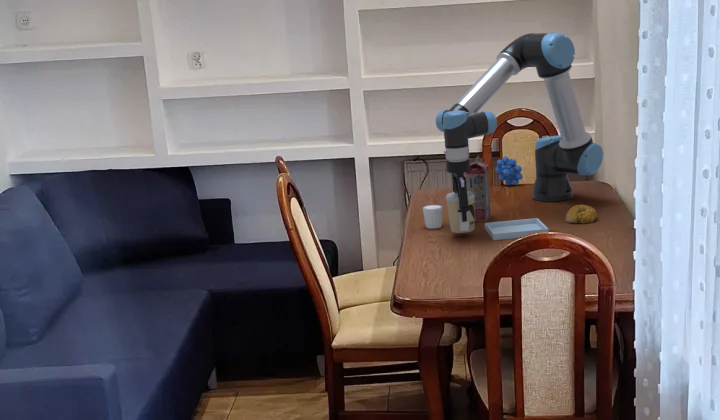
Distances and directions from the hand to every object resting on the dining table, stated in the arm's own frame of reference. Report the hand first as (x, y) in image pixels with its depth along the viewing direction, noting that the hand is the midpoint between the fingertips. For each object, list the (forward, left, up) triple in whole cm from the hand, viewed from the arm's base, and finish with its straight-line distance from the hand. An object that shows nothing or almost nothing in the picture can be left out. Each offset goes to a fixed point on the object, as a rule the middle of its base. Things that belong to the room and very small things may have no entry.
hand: (462, 226), depth 278 cm
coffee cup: (0, 0, -1) cm, 1 cm away
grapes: (-31, -67, -3) cm, 74 cm away
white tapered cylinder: (+7, -16, -3) cm, 18 cm away
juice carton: (-10, -21, -3) cm, 23 cm away
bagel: (-41, -6, -4) cm, 42 cm away
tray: (-18, +1, -3) cm, 18 cm away
